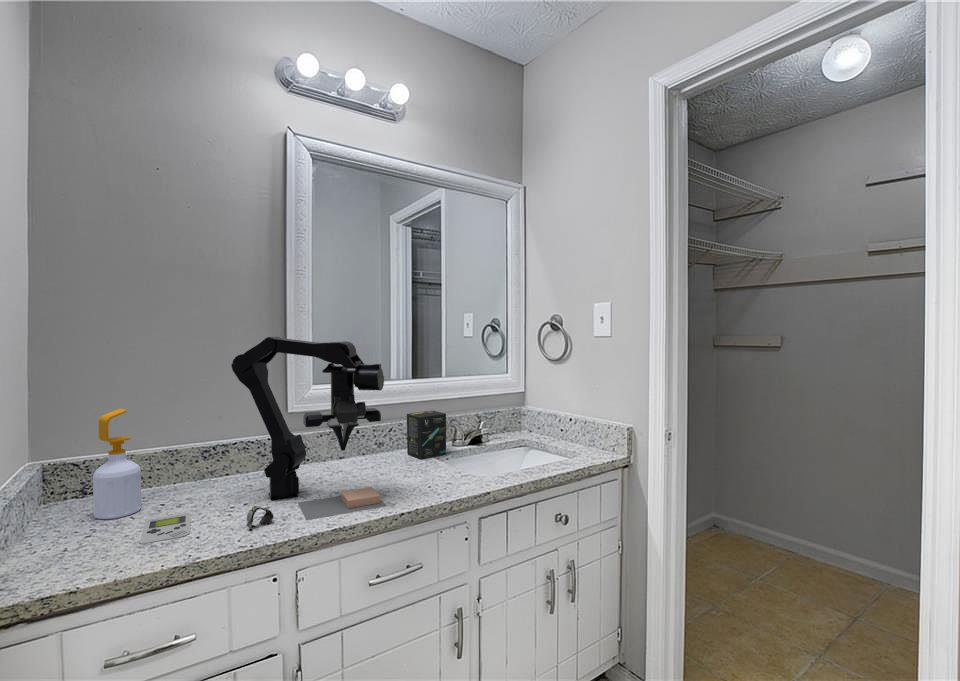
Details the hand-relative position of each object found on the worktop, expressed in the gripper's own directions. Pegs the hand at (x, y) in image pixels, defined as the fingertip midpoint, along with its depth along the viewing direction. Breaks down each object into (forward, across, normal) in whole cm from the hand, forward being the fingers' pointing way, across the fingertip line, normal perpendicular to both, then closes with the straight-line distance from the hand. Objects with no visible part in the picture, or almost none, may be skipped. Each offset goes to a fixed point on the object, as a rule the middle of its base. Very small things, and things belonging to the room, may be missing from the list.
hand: (342, 450), depth 126 cm
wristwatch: (+13, -20, -10) cm, 26 cm away
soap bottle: (+13, -50, +14) cm, 53 cm away
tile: (+11, -1, -5) cm, 12 cm away
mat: (+12, -1, -5) cm, 14 cm away
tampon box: (+13, +35, +32) cm, 49 cm away
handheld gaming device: (+13, -38, -2) cm, 41 cm away
